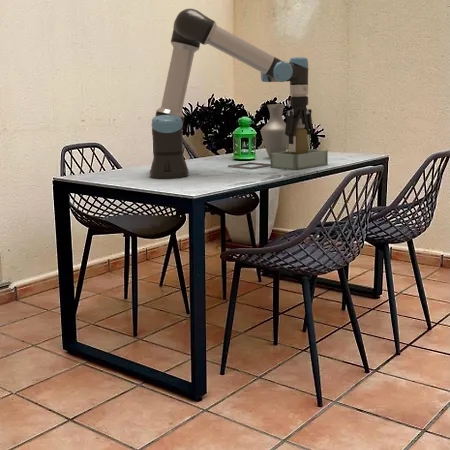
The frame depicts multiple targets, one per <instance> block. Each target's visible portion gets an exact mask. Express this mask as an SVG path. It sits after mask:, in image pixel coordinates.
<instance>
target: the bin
mask: <svg viewBox="0 0 450 450" xmlns="http://www.w3.org/2000/svg"><path fill="white" fill-rule="evenodd" d="M328 153H329V152H328V150H327V149H326V150H322V149H310V148H309V150H308V153H305V154H298V155H292V154H291V153H290V152H289V150H287V151H284V152H277V153H270V158H269V159H270V161H269V162H270V164H271V166H270V168H271V169H279V170H281V169H282V170H289V171H291V170H292V171H299V170H303V169H305V170H306V169H309V168H315V167H321V166H326V165H327V166H328V160H329V159H328V158H329V157H328Z"/></svg>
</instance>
